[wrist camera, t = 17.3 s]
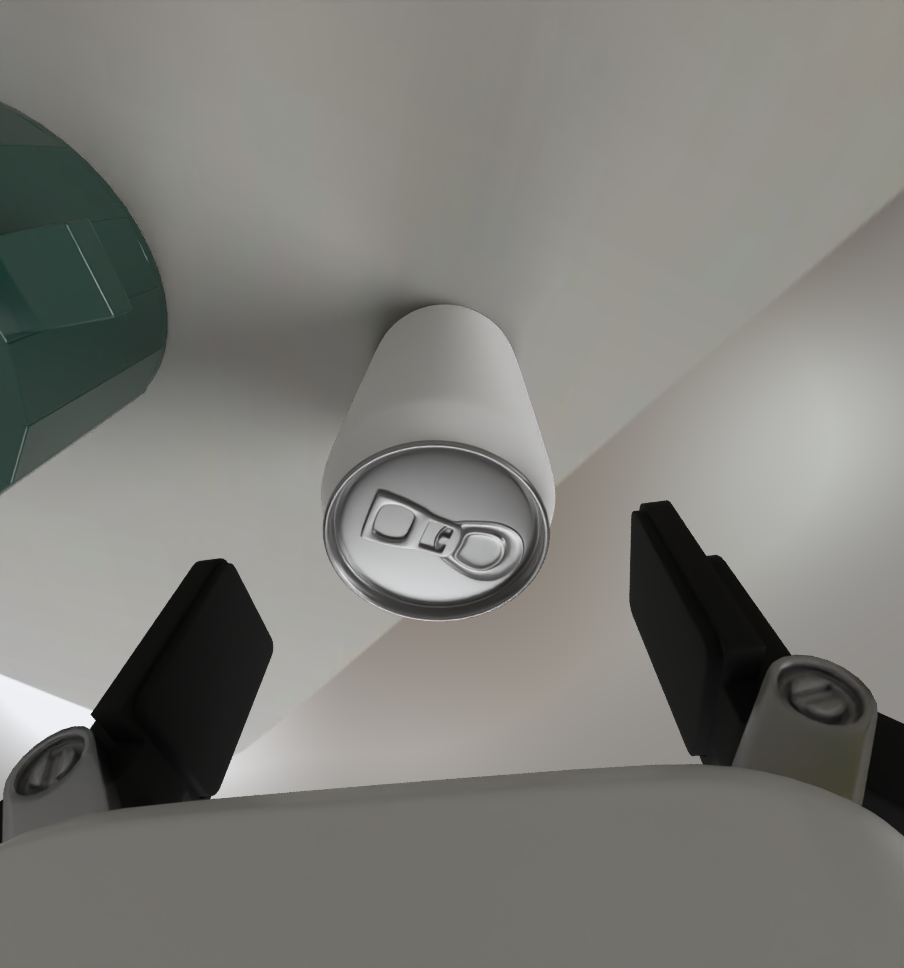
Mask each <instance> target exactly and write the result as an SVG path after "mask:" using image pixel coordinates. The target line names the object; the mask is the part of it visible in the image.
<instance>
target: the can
mask: <svg viewBox="0 0 904 968" xmlns="http://www.w3.org/2000/svg"><path fill="white" fill-rule="evenodd" d="M321 500H322V508H323V513H324V519H323V539H324V545H325V549H326V552H327V555H328V558H329V560H330V562H331V564H332V566H333V568H334V569H335V571H336V573H337V574H338V575H339V577H340V578H341V579H342V580H343V582H344V583H345V584H346V585H347V586H348V587H349V588H350V589H351V590H352V591H353V592H355V593H356V594H357V595H358V596H360V597H361V598H362V599H364V600H365V601H367V602H369V603H370V604H372V605H374V606H376V607H378V608H380V609H382V610H384V611H387V612H389V613H392V614H395V615H398V616H401V617H405V618H410V619H415V620H422V621H455V620H462V619H468V618H472V617H476V616H479V615H482V614H485V613H488V612H490V611H493V610H495V609H497V608H499V607H501V606H503V605H504V604H506V603H507V602H509V601H511V600H512V599H514V598H515V597H516V596H518V595H519V594H520V593H521V592H522V591H523V590H525V588H527V586H528V585H529V584H530V583H531V582H532V581H533V579H534V578H535V577H536V575H537V574H538V572H539V570H540V569H541V567H542V565H543V563H544V560H545V558H546V555H547V551H548V547H549V539H550V525H551V521H552V518H553V513H554V506H555V488H554V480H553V474H552V470H551V467H550V463H549V459H548V456H547V452H546V449H545V446H544V443H543V439H542V436H541V433H540V430H539V427H538V424H537V420H536V417H535V414H534V411H533V408H532V405H531V402H530V399H529V396H528V393H527V390H526V387H525V384H524V380H523V377H522V374H521V371H520V369H519V366H518V363H517V360H516V357H515V354H514V352H513V349H512V347H511V345H510V343H509V341H508V340H507V338H506V337H505V335H504V334H503V332H502V331H501V330H500V329H499V328H498V327H497V326H496V325H495V324H494V323H493V322H492V321H491V320H489V319H488V318H487V317H485V316H484V315H482V314H480V313H478V312H476V311H474V310H471V309H469V308H466V307H462V306H457V305H447V304H441V305H432V306H427V307H423V308H420V309H417V310H415V311H413V312H411V313H409V314H407V315H406V316H404V317H402V318H401V319H400V320H399V321H397V322H396V323H395V324H394V325H393V326H392V327H391V328H390V329H389V330H388V332H387V333H386V334H385V336H384V337H383V339H382V340H381V342H380V344H379V346H378V348H377V350H376V352H375V354H374V356H373V358H372V360H371V362H370V364H369V367H368V369H367V371H366V373H365V375H364V378H363V380H362V382H361V384H360V386H359V388H358V391H357V393H356V395H355V397H354V400H353V402H352V404H351V406H350V408H349V411H348V413H347V415H346V417H345V420H344V422H343V424H342V426H341V429H340V431H339V433H338V436H337V438H336V440H335V443H334V445H333V447H332V450H331V452H330V455H329V458H328V460H327V463H326V467H325V470H324V475H323V480H322V487H321Z"/></svg>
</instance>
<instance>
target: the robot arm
mask: <svg viewBox="0 0 904 968" xmlns="http://www.w3.org/2000/svg"><path fill="white" fill-rule="evenodd" d="M631 517H632V518H631V554H630V555H631V556H630V593H629V596H630V597H629V599H630V600H629V601H630V607H631V611H632V614H633V617H634V620H635V622H636V625H637V627H638V630H639V632H640V635H641V637H642V640H643V642H644V645H645V647H646V649H647V652H648V654H649V657H650V659H651V662H652V664H653V667H654V669H655V672H656V674H657V677H658V679H659V682H660V684H661V686H662V689H663V691H664V694H665V696H666V699H667V701H668V704H669V706H670V708H671V711H672V713H673V716H674V718H675V721H676V723H677V726H678V728H679V731H680V733H681V736H682V738H683V740H684V743H685V746H686V748H687V750H688V752H689V754H690V755H691V756H700V758H701V761H702V763H703V765H702V764H687V765H646V766H645V765H644V766H629V767H628V766H627V767H610V768H595V769H577V770H562V771H550V772H538V773H524V774H510V775H498V776H486V777H485V776H484V777H471V778H458V779H445V780H433V781H421V782H409V783H398V784H397V783H396V784H385V785H372V786H360V787H348V788H336V789H324V790H312V791H301V792H289V793H277V794H268V795H267V794H266V795H255V796H243V797H233V798H221V799H210V798H211V796H213V795H215V794H216V793H217V792H218V791H219V789H220V786H221V784H222V782H223V779H224V776H225V774H226V771H227V769H228V766H229V764H230V761H231V759H232V756H233V753H234V751H235V748H236V746H237V743H238V741H239V738H240V736H241V733H242V730H243V728H244V725H245V723H246V720H247V718H248V715H249V713H250V710H251V707H252V705H253V702H254V700H255V697H256V695H257V692H258V689H259V687H260V684H261V682H262V679H263V677H264V674H265V672H266V669H267V666H268V664H269V661H270V659H271V656H272V653H273V641H272V638H271V636H270V634H269V632H268V631H267V629H266V627H265V625H264V623H263V621H262V619H261V617H260V615H259V613H258V611H257V609H256V607H255V605H254V603H253V601H252V599H251V597H250V595H249V593H248V591H247V590H246V588H245V586H244V584H243V582H242V580H241V578H240V576H239V574H238V572H237V570H236V568H235V567H234V565H233V564H231V563H227V561H226V560H224V559H221V558H219V559H211V560H204V561H198V562H196V563H195V564H194V565H193V566H192V568H191V569H190V571H189V572H188V574H187V575H186V577H185V578H184V579H183V581H182V582H181V584H180V585H179V587H178V588H177V590H176V591H175V593H174V594H173V595H172V597H171V598H170V600H169V601H168V603H167V604H166V606H165V607H164V609H163V610H162V611H161V613H160V614H159V616H158V617H157V619H156V620H155V622H154V623H153V625H152V626H151V627H150V629H149V630H148V632H147V633H146V635H145V636H144V638H143V639H142V641H141V642H140V643H139V645H138V646H137V648H136V649H135V651H134V652H133V654H132V655H131V657H130V658H129V659H128V661H127V662H126V664H125V665H124V667H123V668H122V670H121V671H120V673H119V674H118V675H117V677H116V678H115V680H114V681H113V683H112V684H111V686H110V687H109V689H108V690H107V691H106V693H105V694H104V696H103V697H102V699H101V700H100V702H99V703H98V705H97V706H96V707H95V709H94V710H93V712H92V713H91V715H92V717H93V718H94V719H95V720H96V721H95V722H94V724H93V725H92V727H91V728H90V729H88V728H86V727H84V726H78V727H76V726H74V727H70V728H67V729H63V730H61V731H59V732H57V733H55V734H53V735H51V736H49V737H47V738H46V739H44V740H43V741H41V742H40V743H38V744H37V745H36V746H34V747H33V748H32V749H31V750H30V751H29V752H28V753H27V754H26V755H25V756H23V757H22V759H21V760H20V761H19V762H18V763H17V765H16V766H15V767H14V768H13V770H12V771H11V773H10V775H9V777H8V778H7V780H6V783H5V788H4V792H3V800H2V801H0V968H904V724H903V723H901V722H899V721H896V720H894V719H892V718H890V717H888V716H885V715H883V714H881V713H879V712H877V703H876V701H875V699H874V697H873V695H872V693H871V691H870V690H869V689H868V688H867V687H866V686H865V684H864V683H863V682H862V681H861V680H860V679H859V678H858V677H856V676H855V675H853V674H852V673H851V672H849V671H848V670H846V669H845V668H843V667H841V666H839V665H837V664H835V663H833V662H831V661H828V660H825V659H821V658H818V657H814V656H807V655H791V654H790V653H789V651H788V650H787V648H786V647H785V646H784V644H783V643H782V641H781V640H780V639H779V637H778V636H777V634H776V633H775V631H774V630H773V629H772V627H771V626H770V624H769V623H768V622H767V620H766V619H765V617H764V616H763V614H762V613H761V612H760V610H759V609H758V607H757V606H756V604H755V603H754V602H753V600H752V599H751V597H750V596H749V595H748V593H747V592H746V590H745V589H744V587H743V586H742V585H741V583H740V582H739V580H738V579H737V578H736V576H735V575H734V574H733V572H732V571H731V569H730V568H729V566H728V565H727V563H726V562H725V561H724V560H723V559H722V558H721V557H720V556H718V555H712V556H706V555H705V554H704V552H703V550H702V549H701V548H700V546H699V544H698V543H697V541H696V540H695V539H694V537H693V536H692V534H691V533H690V531H689V529H688V528H687V527H686V525H685V523H684V522H683V520H682V519H681V518H680V516H679V514H678V513H677V511H676V510H675V508H674V507H673V505H672V504H671V503H670V502H669V501H667V500H666V501H659V502H650V503H643V504H641V505H640V510H639V511H633V512H632V516H631Z"/></svg>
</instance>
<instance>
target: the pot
mask: <svg viewBox="0 0 904 968" xmlns="http://www.w3.org/2000/svg"><path fill="white" fill-rule="evenodd" d="M166 338H167V309H166V302H165V295H164V291H163V287H162V283H161V279H160V275H159V272H158V269H157V267H156V264H155V262H154V259H153V256H152V254H151V251H150V249H149V247H148V245H147V243H146V241H145V239H144V237H143V235H142V233H141V231H140V230H139V228H138V226H137V225H136V223H135V221H134V220H133V218H132V217H131V215H130V214H129V212H128V210H127V209H126V207H125V206H124V204H123V203H122V202H121V201H120V199H119V198H118V197H117V195H116V194H115V193H114V191H113V190H112V189H111V188H110V186H109V185H108V184H107V183H106V182H105V180H104V179H103V178H102V177H101V176H100V175H99V174H98V173H97V172H96V171H95V170H94V169H93V168H92V166H91V165H90V164H89V163H88V162H87V161H86V160H84V159H83V158H82V157H81V156H80V155H79V154H78V153H77V152H76V151H74V150H73V149H72V148H71V147H70V146H69V145H68V144H67V143H66V142H64V141H63V140H62V139H60V138H59V137H57V136H56V135H55V134H53V133H52V132H51V131H49V130H48V129H47V128H45V127H44V126H43V125H41V124H40V123H38V122H36V121H35V120H33V119H31V118H30V117H28V116H26V115H25V114H23V113H21V112H20V111H18V110H16V109H14V108H12V107H10V106H8V105H6V104H4V103H2V102H0V495H1V494H3V493H4V492H6V491H7V490H9V489H10V488H11V487H13V486H14V485H16V484H17V483H18V482H20V481H21V480H23V479H24V478H25V477H27V476H28V475H30V474H31V473H33V472H34V471H35V470H37V469H38V468H40V467H41V466H42V465H44V464H45V463H47V462H48V461H50V460H51V459H52V458H54V457H55V456H57V455H58V454H59V453H61V452H62V451H64V450H65V449H66V448H68V447H69V446H71V445H72V444H74V443H75V442H76V441H78V440H79V439H81V438H82V437H83V436H85V435H86V434H88V433H89V432H91V431H92V430H93V429H95V428H96V427H98V426H99V425H100V424H102V423H103V422H105V421H106V420H107V419H109V418H110V417H112V416H113V415H114V414H116V413H117V412H118V411H120V410H121V409H122V408H124V407H125V406H126V405H128V404H129V403H131V402H132V401H133V400H135V399H136V398H137V397H139V396H140V395H141V394H143V393H144V392H145V390H146V388H147V386H148V385H149V384H150V383H151V381H152V380H153V378H154V376H155V374H156V372H157V371H158V369H159V367H160V364H161V361H162V358H163V354H164V351H165V345H166Z"/></svg>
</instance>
